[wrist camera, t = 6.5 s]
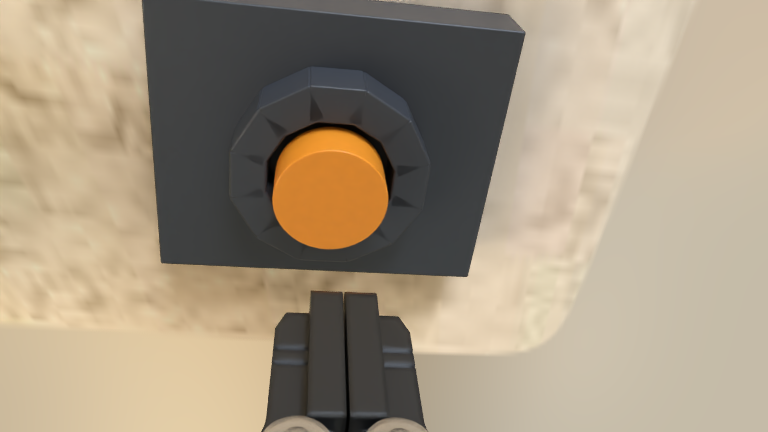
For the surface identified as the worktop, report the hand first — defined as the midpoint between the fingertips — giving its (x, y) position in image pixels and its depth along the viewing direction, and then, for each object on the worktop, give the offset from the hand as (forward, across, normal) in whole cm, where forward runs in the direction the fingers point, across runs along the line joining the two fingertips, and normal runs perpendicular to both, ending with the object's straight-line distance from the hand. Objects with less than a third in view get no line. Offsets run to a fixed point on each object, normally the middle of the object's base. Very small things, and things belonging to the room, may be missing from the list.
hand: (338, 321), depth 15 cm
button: (+8, 0, 0) cm, 8 cm away
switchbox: (+11, 0, 0) cm, 11 cm away
